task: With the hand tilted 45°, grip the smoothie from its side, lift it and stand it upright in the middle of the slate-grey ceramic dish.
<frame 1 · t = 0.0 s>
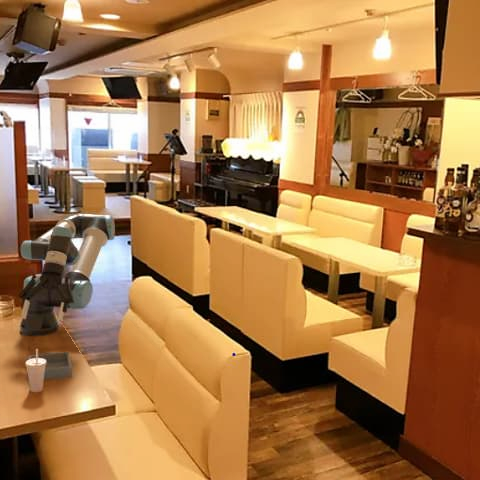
hand: (41, 319, 205), 15 cm above the table, tool tilted 35°, fingers open, 13 cm apart
smoothie: (36, 390, 184), on the table
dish: (49, 370, 199), on the table
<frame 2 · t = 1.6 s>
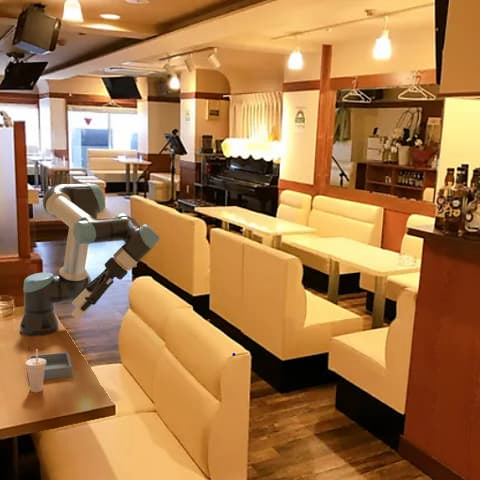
hand: (74, 310, 185), 25 cm above the table, tool tilted 45°, fingers open, 13 cm apart
nothing on the table moved.
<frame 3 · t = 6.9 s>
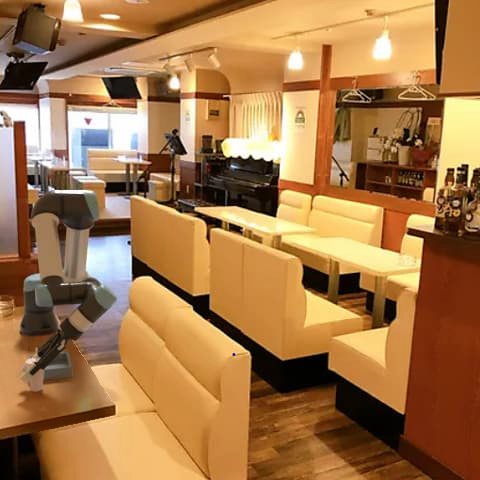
hand: (23, 375, 183), 5 cm above the table, tool tilted 45°, fingers closed on smoothie, 6 cm apart
smoothie: (36, 389, 184), on the table, touching gripper
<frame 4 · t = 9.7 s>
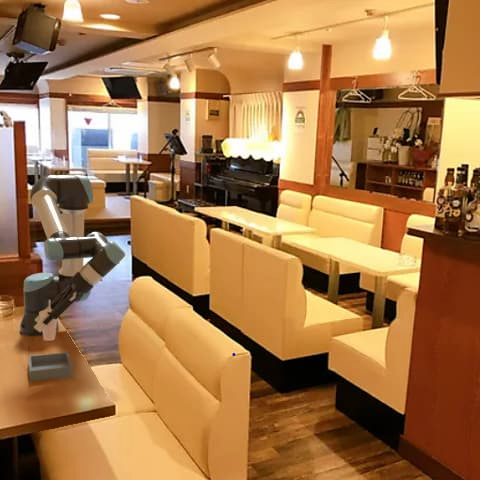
hand: (37, 325, 194), 17 cm above the table, tool tilted 45°, fingers closed on smoothie, 6 cm apart
smoothie: (49, 339, 195), point 12 cm above the table, touching gripper
when the fingers open (7 cm above the table, at t = 12.5 s): smoothie drops 1 cm, resting on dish.
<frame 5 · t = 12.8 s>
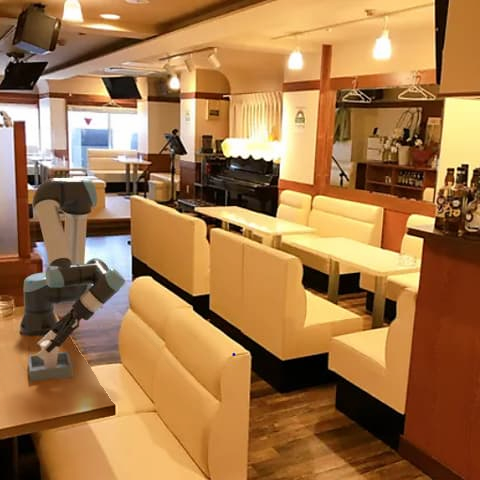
hand: (40, 351, 196), 7 cm above the table, tool tilted 45°, fingers open, 9 cm apart
smoothie: (50, 369, 198), resting on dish
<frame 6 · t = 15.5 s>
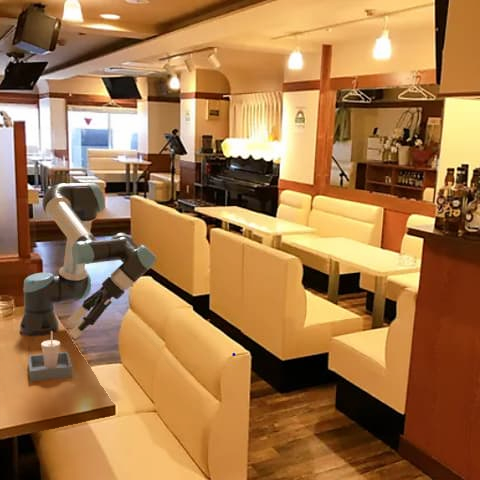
hand: (71, 328, 189), 18 cm above the table, tool tilted 45°, fingers open, 13 cm apart
nothing on the table moved.
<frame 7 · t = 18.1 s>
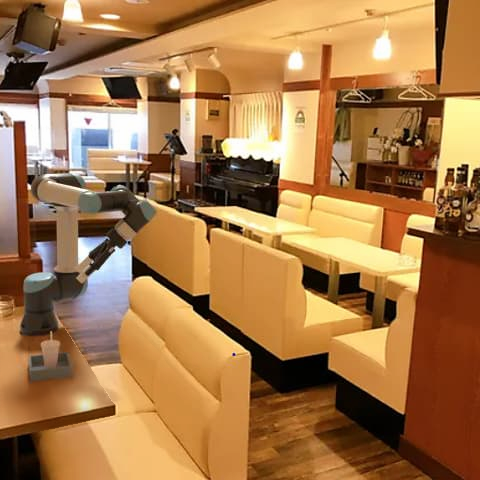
hand: (78, 275, 204), 32 cm above the table, tool tilted 45°, fingers open, 13 cm apart
nothing on the table moved.
at the end: smoothie 0.3 cm from the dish (horizontally); smoothie tilted 1°; the gripper is holding nothing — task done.
